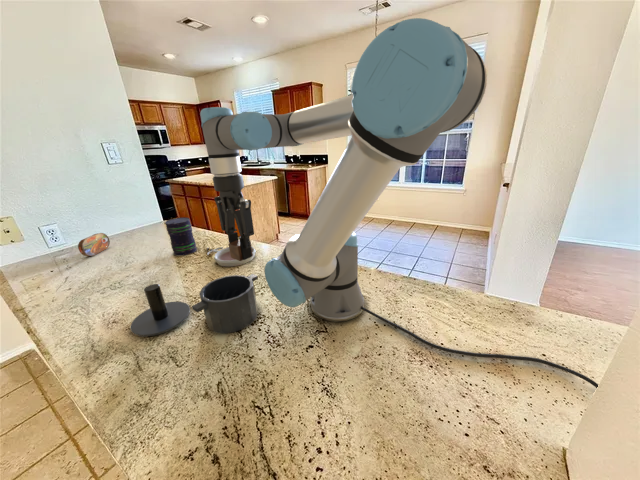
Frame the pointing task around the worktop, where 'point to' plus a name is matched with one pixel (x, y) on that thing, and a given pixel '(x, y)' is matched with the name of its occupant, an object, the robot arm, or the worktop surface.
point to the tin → (93, 244)
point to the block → (236, 250)
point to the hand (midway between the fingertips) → (241, 255)
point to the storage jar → (181, 236)
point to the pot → (228, 303)
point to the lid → (159, 314)
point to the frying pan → (228, 257)
